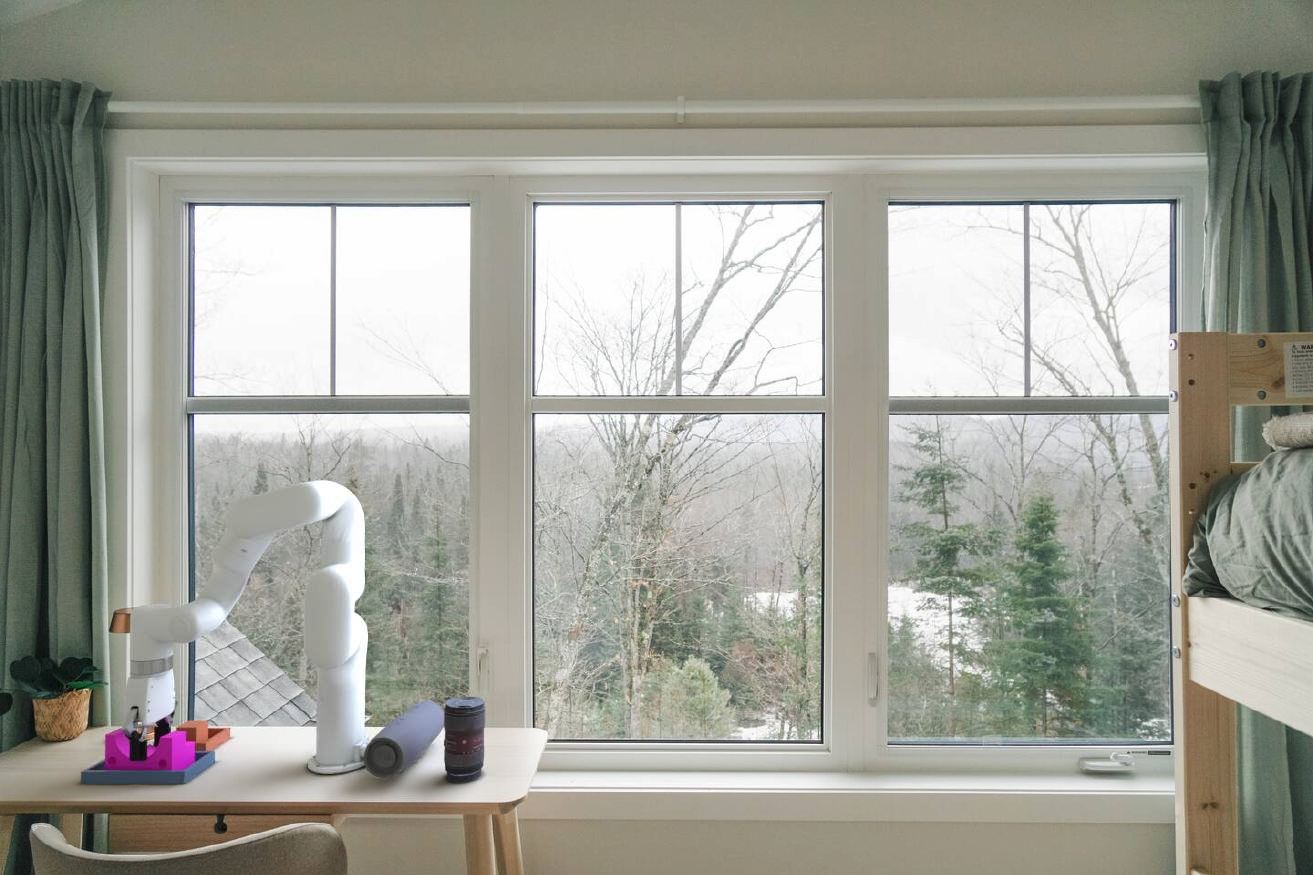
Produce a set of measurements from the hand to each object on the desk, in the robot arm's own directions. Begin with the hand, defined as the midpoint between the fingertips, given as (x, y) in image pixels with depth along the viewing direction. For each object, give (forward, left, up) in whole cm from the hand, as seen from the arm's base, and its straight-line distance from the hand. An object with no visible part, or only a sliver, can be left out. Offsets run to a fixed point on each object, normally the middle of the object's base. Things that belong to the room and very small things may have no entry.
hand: (150, 752), depth 158 cm
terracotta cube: (0, -15, -4) cm, 15 cm away
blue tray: (0, 0, -4) cm, 4 cm away
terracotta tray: (0, -15, -4) cm, 15 cm away
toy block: (0, 0, -3) cm, 3 cm away
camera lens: (-65, +2, -4) cm, 65 cm away
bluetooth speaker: (-51, -5, -4) cm, 51 cm away
